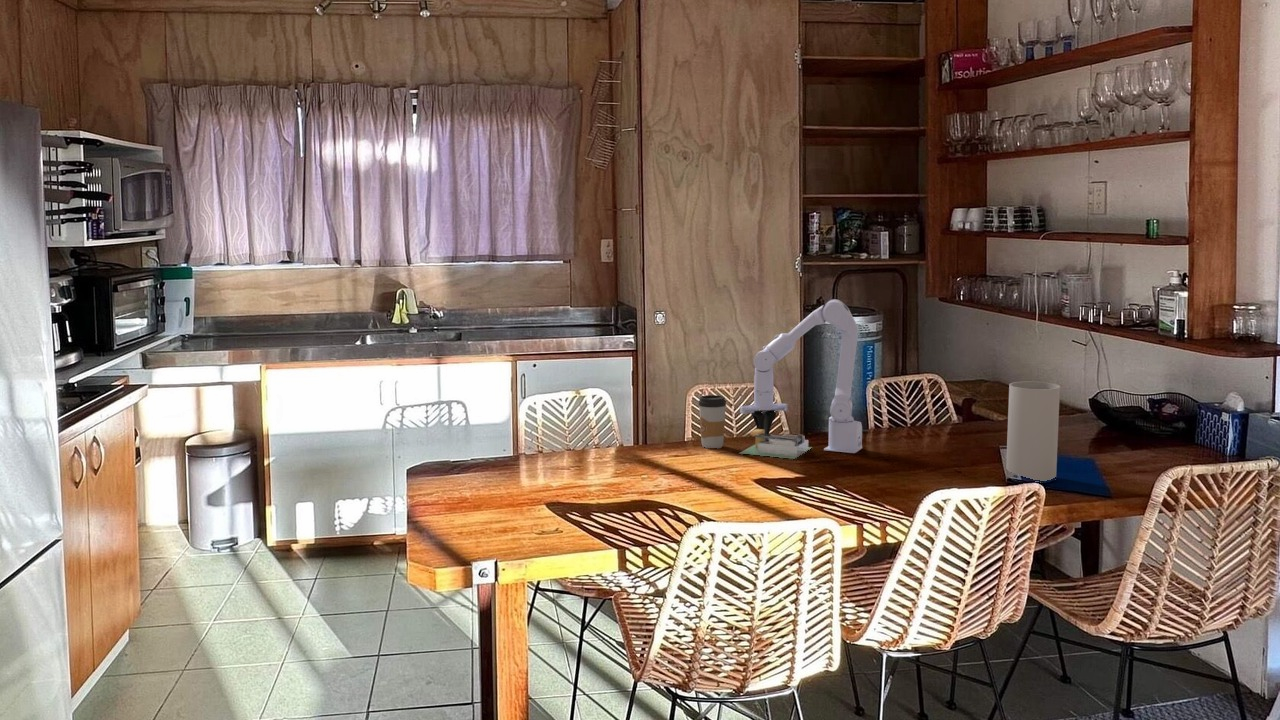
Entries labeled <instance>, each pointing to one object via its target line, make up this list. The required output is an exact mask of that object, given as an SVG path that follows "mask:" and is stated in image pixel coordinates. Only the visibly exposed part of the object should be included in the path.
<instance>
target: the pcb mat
mask: <svg viewBox="0 0 1280 720" xmlns="http://www.w3.org/2000/svg"><path fill="white" fill-rule="evenodd" d="M811 448H812V449H814V448H813V447H812V446H808V450H809V451H811V450H812V449H811ZM810 449H811V450H810ZM806 453H808V452H807V451H806ZM806 453H805V452H804V454H806ZM738 454H739V455H743V454H750V455H749V456H753V455H760V456H759V457H763V456H770V457H769V458H773V457H779V458H778V459H783V458H789V459H788V460H793V459H795V458H796V459H798V458H799V456H798V458H797V457H790V456H780V455H770V454H760V453H758V448H755V444H753V445H752V446H749V447H748V448H746V449H744V450H742V451H740V452H739V453H738ZM801 456H803V455H802V454H801ZM796 459H795V460H796Z"/></svg>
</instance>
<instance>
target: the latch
mask: <svg viewBox="0 0 1280 720" xmlns="http://www.w3.org/2000/svg"><path fill="white" fill-rule="evenodd" d="M762 433H764V434H765V429H757V428H755V429H753V430H752V431H750V433H749V434H750V436H754V435H760V434H762ZM764 439H766V438H760V437H755V444H754V445H755V448H758V443H759V442H761V441H763V440H764Z"/></svg>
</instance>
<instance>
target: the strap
mask: <svg viewBox="0 0 1280 720" xmlns="http://www.w3.org/2000/svg"><path fill="white" fill-rule="evenodd" d="M753 436H754V437H753V438H756V437H760V438H765V439H766V438H767V439H781V440H792V441H793V437H787V436H781V435H779V434H771V433H769V434H764V433H762V434H760V435H753ZM801 440H802V439H801V438H800V437H799V438H798V442H800V441H801Z"/></svg>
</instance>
